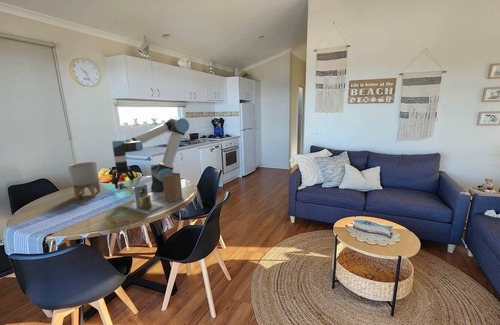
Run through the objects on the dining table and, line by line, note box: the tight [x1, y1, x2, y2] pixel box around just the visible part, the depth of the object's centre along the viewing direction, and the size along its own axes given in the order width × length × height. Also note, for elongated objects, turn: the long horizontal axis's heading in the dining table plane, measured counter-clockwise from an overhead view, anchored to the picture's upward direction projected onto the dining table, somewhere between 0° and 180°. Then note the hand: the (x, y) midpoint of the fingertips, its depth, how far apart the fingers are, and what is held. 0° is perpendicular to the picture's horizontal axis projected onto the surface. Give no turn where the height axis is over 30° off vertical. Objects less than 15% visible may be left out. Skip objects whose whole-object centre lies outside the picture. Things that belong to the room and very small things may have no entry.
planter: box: [67, 161, 101, 200], centre depth 197 cm, size 19×19×26 cm
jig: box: [125, 183, 165, 215], centre depth 171 cm, size 24×14×16 cm, turn 60°
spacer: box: [139, 193, 152, 208], centre depth 171 cm, size 2×8×8 cm, turn 150°
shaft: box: [118, 182, 143, 193], centre depth 176 cm, size 24×5×5 cm, turn 60°
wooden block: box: [162, 172, 183, 202], centre depth 185 cm, size 10×10×20 cm
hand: (125, 190), depth 181 cm, fingers open, 9 cm apart
